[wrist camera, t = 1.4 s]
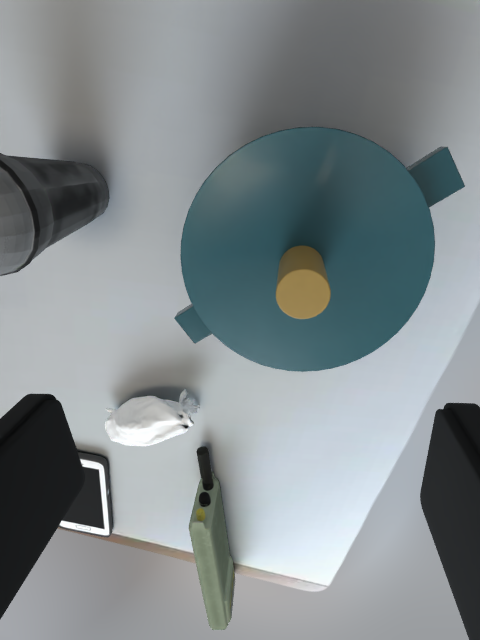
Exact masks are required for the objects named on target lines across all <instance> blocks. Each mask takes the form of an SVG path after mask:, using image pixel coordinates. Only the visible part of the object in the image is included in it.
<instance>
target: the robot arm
mask: <svg viewBox="0 0 480 640" xmlns="http://www.w3.org/2000/svg"><path fill="white" fill-rule="evenodd" d="M84 482H85V472H84V469H83V466H82V463H81V461H80V458H79V455H78V452H77V449H76V446H75V443H74V440H73V437H72V434H71V431H70V428H69V425H68V423H67V420H66V417H65V414H64V411H63V408H62V405H61V403H60V402H59V401H58V400H56V398H55V397H54V396H53V395H51V394H28V395H26V396H25V397H24V398H22V399H21V400H20V401H19V402H18V403H17V404H16V405H15V406H14V407H13V408H12V409H10V410H9V411H8V412H7V413H6V414H5V415H4V416H3V417H2V418H1V419H0V619H1V617H2V616H3V614H4V613H5V611H6V609H7V608H8V606H9V604H10V603H11V601H12V600H13V598H14V597H15V595H16V593H17V592H18V590H19V588H20V587H21V585H22V584H23V582H24V581H25V579H26V577H27V576H28V574H29V572H30V571H31V569H32V568H33V566H34V565H35V563H36V561H37V560H38V558H39V556H40V555H41V553H42V552H43V550H44V548H45V547H46V545H47V544H48V542H49V540H50V539H51V537H52V536H53V534H54V532H55V531H56V529H57V528H58V526H59V524H60V523H61V521H62V520H63V518H64V516H65V515H66V513H67V512H68V510H69V508H70V507H71V505H72V504H73V502H74V500H75V499H76V497H77V496H78V494H79V492H80V491H81V489H82V487H83V485H84ZM420 498H421V505H422V509H423V512H424V515H425V518H426V520H427V523H428V526H429V529H430V532H431V534H432V537H433V540H434V543H435V545H436V548H437V551H438V554H439V556H440V559H441V562H442V565H443V568H444V571H445V573H446V576H447V579H448V582H449V585H450V587H451V590H452V593H453V596H454V598H455V601H456V604H457V607H458V610H459V612H460V615H461V618H462V621H463V623H464V626H465V629H466V632H467V635H468V637H469V640H480V407H479V406H478V405H476V404H471V403H470V404H469V403H447V404H446V405H445V406H444V409H438V410H437V411H436V414H435V419H434V424H433V430H432V434H431V440H430V445H429V450H428V456H427V461H426V466H425V471H424V477H423V482H422V487H421V494H420Z"/></svg>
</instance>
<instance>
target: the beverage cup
mask: <svg viewBox="0 0 480 640" xmlns="http://www.w3.org/2000/svg"><path fill="white" fill-rule="evenodd" d="M108 201H109V191H108V187H107V185H106V182H105V180H104V179H103V177H102V176H101V174H100V173H99V172H98V171H96V170H95V169H94V168H93V167H91V166H89V165H86V164H82V163H76V162H70V161H59V160H48V159H37V158H27V157H16V156H6V155H4V154H1V153H0V276H2V275H7V274H11V273H16V272H18V271H20V270H21V269H23V268H24V267H25V266H27V265H28V264H29V263H30V262H31V261H32V259H34V258H35V257H36V256H38V255H39V254H40V253H41V252H42V251H43V250H45V248H47V247H49V246H50V245H52V244H54V243H56V242H57V241H59V240H61V239H62V238H64V237H66V236H68V235H69V234H71V233H73V232H74V231H76V230H78V229H80V228H81V227H83V226H85V225H86V224H88V223H90V222H91V221H93V220H94V219H95V218H96V217H98V216H100V215H101V214H102V213H104V211H105V209H106V208H107V206H108Z"/></svg>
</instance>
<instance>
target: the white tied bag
mask: <svg viewBox="0 0 480 640" xmlns="http://www.w3.org/2000/svg"><path fill="white" fill-rule="evenodd" d="M186 391H187V390H186V389H184V391H183V392H182V393H181V395H180V398H179V402H175V401H171V400H167V399H166V400H163V399H160V398H158V397H156V396H144V397H138V398H136V397H135V398H132V399H130V400H128V401H127V402H125V403H124V404H122V405H121V406H120V408H119V409H117V410H116V409H106V411H108V412H109V413H111V415H110V416H109V417H108V419H107V420H106V421H105V429H106V432H107V434H108V435H109V437H110V439H111V440H112V441H114V442H118V443H121V444H123V445H131V446H148V445H153V444H156V443H159V442H161V441H163V440H166V439H169V438H171V437H174V436H177V435H180V434H183V433H185V432H187V431H188V430H189V428H190V426H192V425H193V424H194V422H193V421H192V420H191V416H190V415H189V414H192V413H197V410H196V409H199V408H200V407H199V405H198V406H195V405H193V403H192V402H194V401H195V399H194V400H193V401H190V398H188V399H186ZM187 394H189V393H187Z"/></svg>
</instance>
